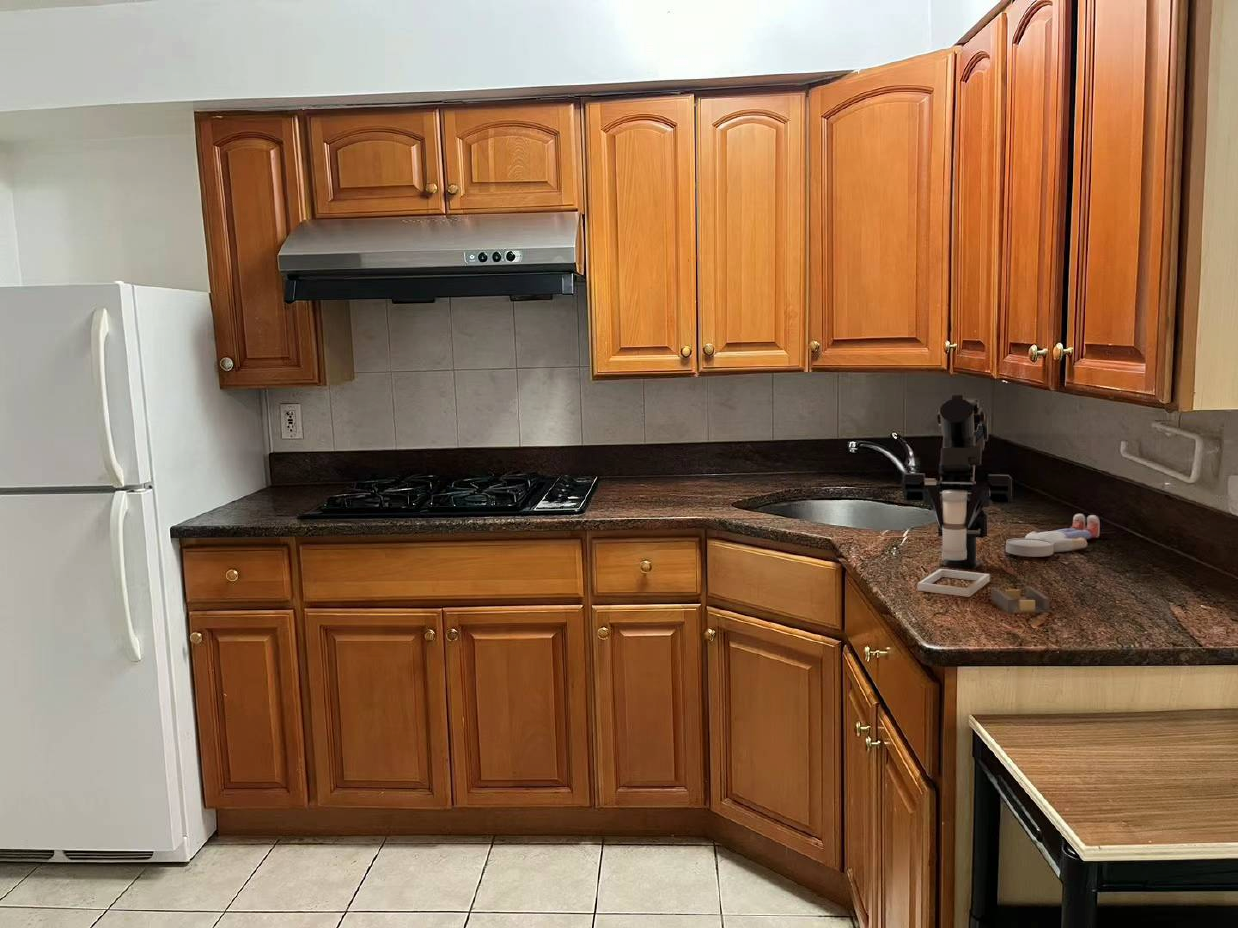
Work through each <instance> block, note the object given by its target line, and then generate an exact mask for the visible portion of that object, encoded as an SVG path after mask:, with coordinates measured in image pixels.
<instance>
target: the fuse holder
mask: <svg viewBox="0 0 1238 928" xmlns="http://www.w3.org/2000/svg"><path fill="white" fill-rule="evenodd" d="M990 590H991V592H990V595H991V596H990V597H988V598H989V600H991V601H992V602H993V603H994V604H996V605H997V606H998V607H999V608H1000V609H1002V610H1004V612H1006V613H1007V614H1012V613H1013V614H1017V613H1020V614H1021V613H1022V614H1023V613H1025V614H1026V613H1052V612H1053V611H1052V610H1051V609H1050V600H1051V599H1050V598H1049V596H1046V594H1044V593H1042V592H1040V591H1039V590H1037V589H1036V588H1035V587H1033V586H1031V585H1029V586H1028V585H1026V586H1025V596H1021V589H1017V588H1013V589H1004V592H1003V590H1001V589H999V588H998V587H997V586H991V588H990Z"/></svg>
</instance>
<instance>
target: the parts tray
mask: <svg viewBox="0 0 1238 928" xmlns="http://www.w3.org/2000/svg"><path fill="white" fill-rule="evenodd" d="M941 578H949V579H950V578H951V579H959V580H967V581H974V582H972V583H971V584H970V585H969V586H967V587H961V586H952V585H945V584H944V585H943V584H936V583H935V582H936V581H938V580H940V579H941ZM990 579H991V575H990V573H983V572H982V573H981V572H973V571H964V570H957V569H955V570H954V569H947V568H939V569H937V570H935V571H934V572H933V573H931V574H929V575H927V576H926V577H924V579H922V580H920V581H918V582H917V585H916V586H917V591H919V592H927V593H934V594H941V595H942V594H944V595H951V596H960V597H967V598H968V597H969V598H970V597H971V596H972V595H973V594H975V593H977V591H979V590H980V589H982V588H983V587H984V586H985V585H987V584H988V583H990Z"/></svg>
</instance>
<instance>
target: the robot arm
mask: <svg viewBox="0 0 1238 928" xmlns="http://www.w3.org/2000/svg"><path fill="white" fill-rule="evenodd" d="M979 404H980V401H979V398H976V397H964V394H952V396H951V399H949V400H946V401H944V402H943V403H942V404H941V406H940V407H939V410H938V411H937V414H936V415H937V425H938V426H939V427H941V435H942V438H943V439H942V448H940V462H939V465H938V466H939V467H938V477H939V479H940V480H939V479H937V478H927V477H926V474H925V473H918V472H917V473H914V472H911V473H910V472H906V473H904V474H903V475H902V477H901V483H900V484H901V491H902V498H903V501H905V502H907V503H908V502H911V503H922V502H923V504H924V505H925V506H928V507H930V509H931V510H932V511H933V514H934V516H935V519H936V521H937V534H938V537H943V528H942V521H943V500H942V499H941V494H942V491H943V490H952V489H956V490H965V491H967V508H966V549H967V559H965V560H947V559H945V560H944V561H942V562H941V563H940V564H939V567H940V568H941V567H942V568H950V569H961V570H968V571H973V570H975V569H976V568H978V567H979V566H982V564H983V561H982V560H977V538H978V539H979V538H980V539H983V538H985V537H986V538H987V537H988V514H987V513H986V512H985V510H984V508H989V507H990V503H991V504H993V505H1010V504H1012V500H1013V498H1012V497H1013V493H1012V491H1013V484H1012V483H1013V477H1011V476H1010V475H1009V474H991V473H990V474H988V475H987V482H979V481H978V482H976V481H975V471H976V466H981V465H982V452H983V451H984V450H985V442H987V441H988V440H989V418H988V417H989V416H988V413H987V412H986V411H984V410H983V408H982V406H981V407H980V406H979Z"/></svg>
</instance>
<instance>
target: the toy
mask: <svg viewBox="0 0 1238 928" xmlns="http://www.w3.org/2000/svg"><path fill="white" fill-rule="evenodd" d="M1099 536H1100V519H1099V517H1098V516H1097V515H1096V514H1095V515H1094V514H1090V515H1088V516H1087V517H1085V515H1084V514H1083V513H1076V514H1074V515H1073V518H1072V526H1070V527H1069V528H1061V529H1056V530H1050V531H1040V532H1037V531H1030V532H1029V533H1027V534H1026V535H1025V537H1017V538H1009V539H1007V540H1005V552H1007V553H1008V554H1010V555H1014V556H1019V557H1032V558H1033V557H1034V558H1035V557H1037V558H1038V557H1049V556H1052V555H1053V554H1054V553H1062V552H1070V551H1075V550H1080V549H1084V548H1086V547H1088V542H1087V540H1090V539H1097V538H1099Z"/></svg>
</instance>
